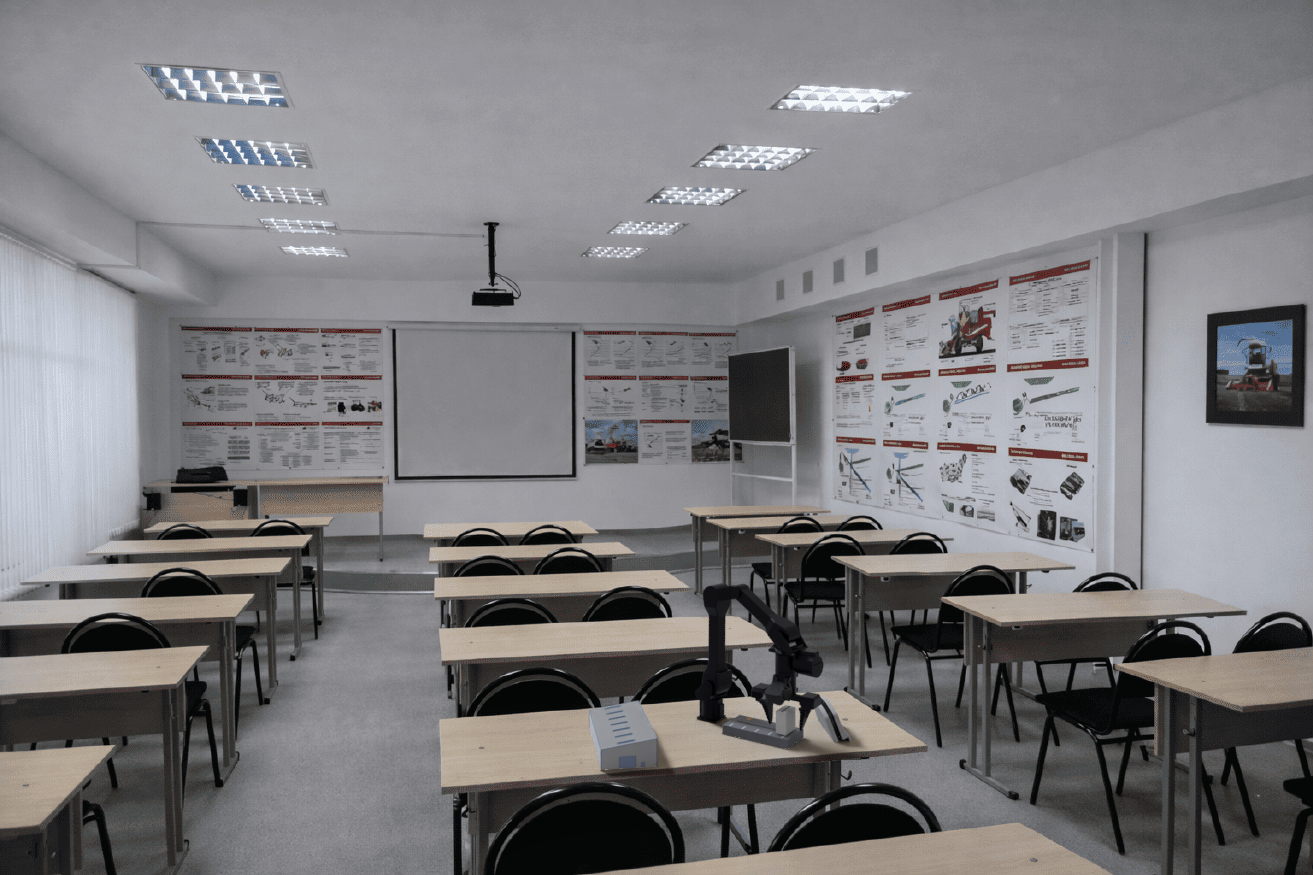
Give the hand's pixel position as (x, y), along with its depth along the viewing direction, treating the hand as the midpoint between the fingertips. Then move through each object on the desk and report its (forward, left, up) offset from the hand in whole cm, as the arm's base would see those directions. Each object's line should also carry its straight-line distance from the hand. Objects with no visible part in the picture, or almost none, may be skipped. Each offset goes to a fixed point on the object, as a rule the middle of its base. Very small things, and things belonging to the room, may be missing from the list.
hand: (785, 727), depth 227 cm
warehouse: (-35, -28, -4) cm, 45 cm away
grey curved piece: (+7, +14, -4) cm, 16 cm away
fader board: (-7, 0, -4) cm, 8 cm away
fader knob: (0, 0, -1) cm, 1 cm away
